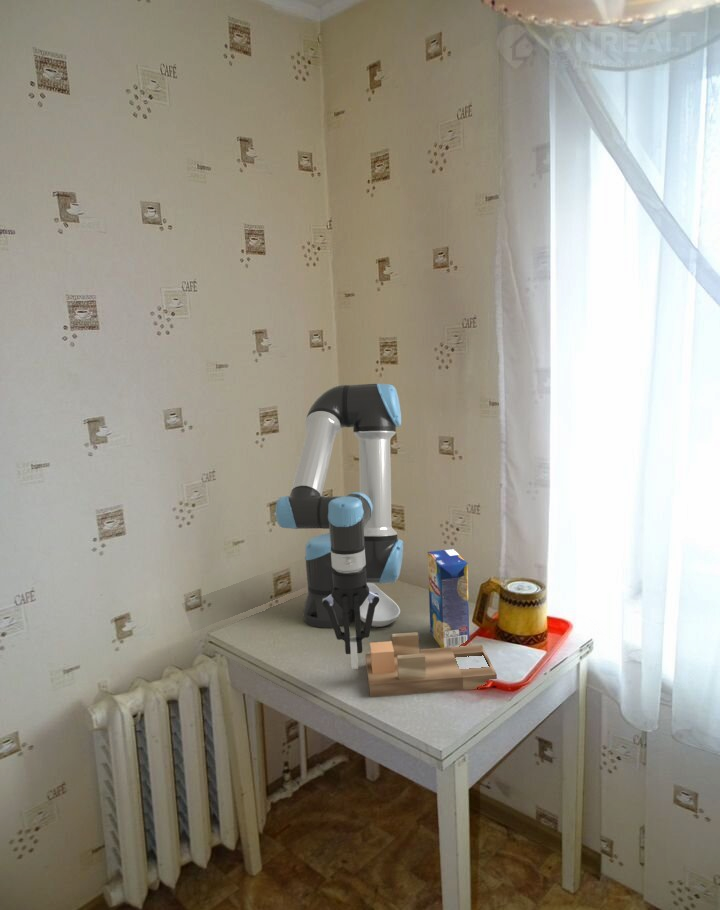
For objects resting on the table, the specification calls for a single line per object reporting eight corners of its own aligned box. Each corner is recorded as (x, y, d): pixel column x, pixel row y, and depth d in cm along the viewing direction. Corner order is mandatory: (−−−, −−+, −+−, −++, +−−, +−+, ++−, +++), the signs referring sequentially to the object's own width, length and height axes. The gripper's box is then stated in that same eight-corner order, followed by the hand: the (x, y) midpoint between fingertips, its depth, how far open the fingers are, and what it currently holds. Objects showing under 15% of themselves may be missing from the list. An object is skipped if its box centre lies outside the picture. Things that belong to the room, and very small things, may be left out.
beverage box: (455, 628, 178) (453, 548, 173) (469, 647, 167) (467, 563, 163) (430, 631, 176) (427, 551, 172) (443, 651, 166) (440, 566, 162)
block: (371, 662, 156) (369, 642, 155) (392, 661, 156) (391, 641, 155) (372, 673, 151) (371, 653, 150) (394, 672, 151) (393, 651, 150)
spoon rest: (406, 628, 180) (405, 603, 178) (364, 635, 177) (362, 610, 175) (380, 595, 202) (379, 572, 201) (342, 601, 199) (341, 578, 198)
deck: (366, 665, 161) (364, 634, 159) (481, 656, 162) (481, 625, 161) (370, 697, 147) (368, 663, 146) (496, 686, 148) (496, 653, 147)
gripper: (319, 575, 145) (326, 676, 149) (379, 571, 145) (384, 672, 150) (319, 563, 152) (326, 659, 156) (377, 559, 152) (381, 655, 157)
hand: (354, 665), depth 153 cm, fingers closed
